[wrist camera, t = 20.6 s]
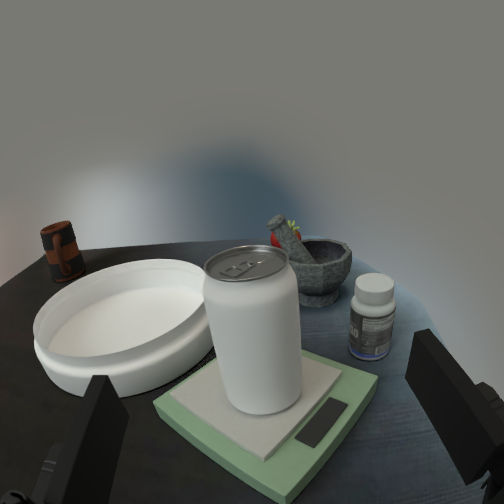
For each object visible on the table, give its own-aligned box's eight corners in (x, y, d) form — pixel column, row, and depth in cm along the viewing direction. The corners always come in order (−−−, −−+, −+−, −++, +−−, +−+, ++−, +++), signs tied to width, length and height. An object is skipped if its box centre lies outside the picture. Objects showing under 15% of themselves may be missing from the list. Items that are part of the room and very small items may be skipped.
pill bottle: (347, 336, 35) (349, 271, 32) (386, 334, 34) (393, 269, 31) (349, 363, 31) (353, 294, 28) (392, 361, 30) (402, 292, 27)
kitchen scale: (375, 393, 26) (379, 370, 25) (286, 508, 17) (284, 492, 16) (255, 346, 36) (252, 324, 35) (159, 417, 27) (149, 396, 26)
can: (318, 383, 25) (315, 252, 21) (266, 431, 21) (244, 294, 17) (262, 356, 30) (247, 237, 25) (211, 393, 26) (178, 267, 21)
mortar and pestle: (352, 281, 47) (351, 204, 43) (349, 315, 39) (350, 225, 35) (281, 280, 51) (273, 206, 47) (265, 311, 43) (255, 226, 39)
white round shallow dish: (118, 438, 24) (94, 400, 22) (20, 348, 38) (5, 318, 36) (260, 303, 45) (256, 268, 43) (136, 276, 59) (129, 250, 57)
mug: (51, 292, 56) (33, 239, 52) (53, 274, 66) (39, 227, 62) (88, 280, 60) (72, 226, 56) (85, 263, 70) (72, 217, 65)
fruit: (298, 269, 54) (295, 224, 51) (268, 268, 56) (263, 223, 53) (305, 257, 58) (302, 215, 55) (277, 256, 60) (273, 215, 57)
